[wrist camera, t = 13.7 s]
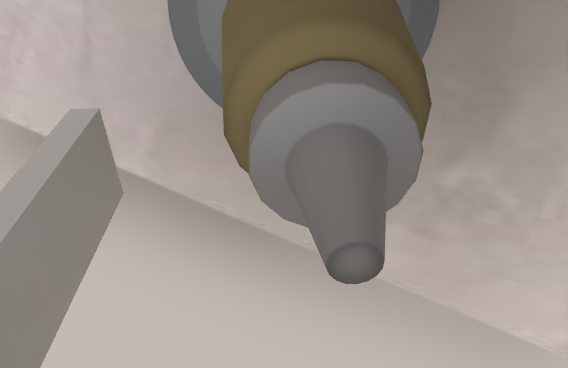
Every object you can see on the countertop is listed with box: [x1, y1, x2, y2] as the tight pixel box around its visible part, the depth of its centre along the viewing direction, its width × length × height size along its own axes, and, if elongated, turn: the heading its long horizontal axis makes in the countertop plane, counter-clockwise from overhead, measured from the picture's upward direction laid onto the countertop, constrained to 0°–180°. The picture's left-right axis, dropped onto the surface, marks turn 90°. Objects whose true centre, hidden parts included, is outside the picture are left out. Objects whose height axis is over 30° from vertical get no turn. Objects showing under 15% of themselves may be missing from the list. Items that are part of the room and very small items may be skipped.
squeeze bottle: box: [222, 0, 431, 284], centre depth 17 cm, size 8×8×18 cm
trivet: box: [168, 0, 439, 108], centre depth 24 cm, size 14×14×1 cm
